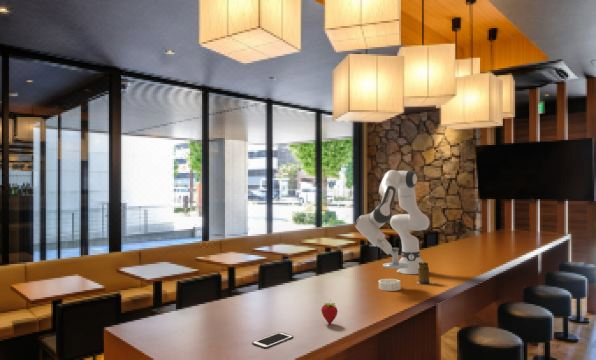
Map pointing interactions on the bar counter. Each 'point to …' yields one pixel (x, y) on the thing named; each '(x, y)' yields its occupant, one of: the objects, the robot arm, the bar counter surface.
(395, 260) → the lid
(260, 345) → the cell phone
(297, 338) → the bar counter surface
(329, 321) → the strawberry
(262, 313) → the bar counter surface
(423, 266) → the condiment
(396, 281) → the bowl
